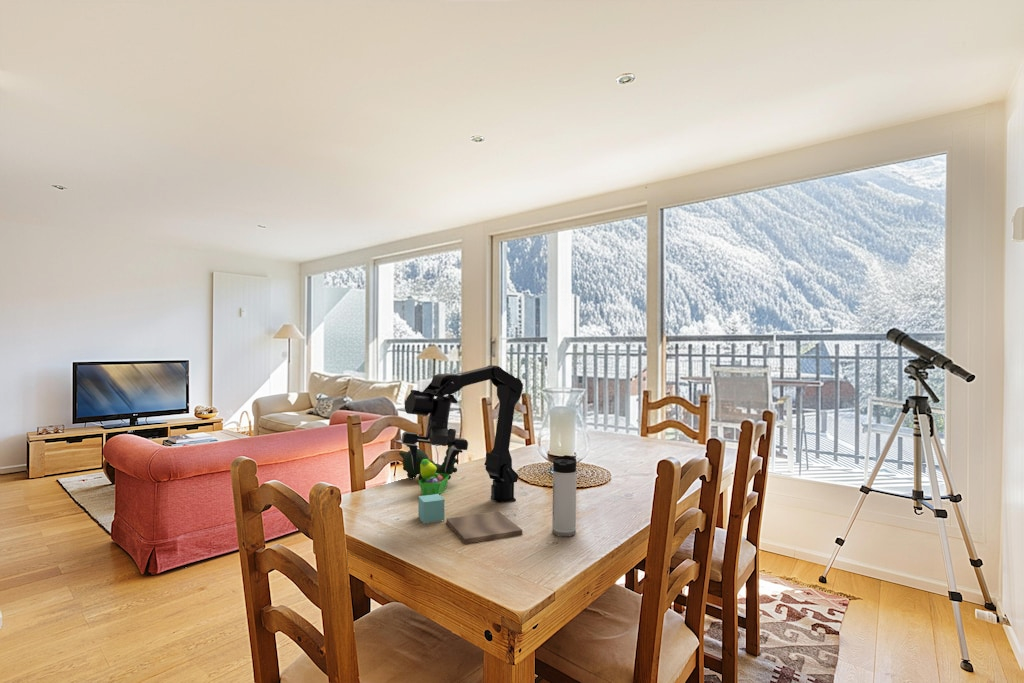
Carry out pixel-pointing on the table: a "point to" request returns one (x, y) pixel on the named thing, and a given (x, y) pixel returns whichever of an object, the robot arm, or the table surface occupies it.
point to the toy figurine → (420, 456)
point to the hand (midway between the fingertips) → (430, 471)
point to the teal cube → (431, 508)
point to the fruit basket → (431, 479)
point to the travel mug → (564, 496)
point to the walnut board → (483, 527)
